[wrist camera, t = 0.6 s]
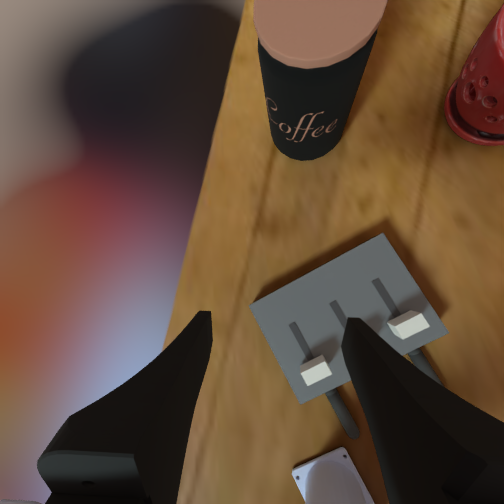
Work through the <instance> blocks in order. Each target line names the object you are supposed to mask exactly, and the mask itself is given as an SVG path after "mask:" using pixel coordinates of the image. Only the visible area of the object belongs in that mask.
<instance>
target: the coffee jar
mask: <svg viewBox="0 0 504 504" xmlns="http://www.w3.org/2000/svg"><path fill="white" fill-rule="evenodd" d="M387 2H388V0H254V25H255V29H256V31H257V34H258V53H259V60H260V66H261V72H262V79H263V85H264V92H265V98H266V104H267V111H268V117H269V123H270V130H271V135H272V138H273V141H274V144H275V145H276V146H277V148H278V149H279V150H280V152H282V153H283V154H285V155H286V156H288V157H290V158H292V159H296V160H300V161H304V160H314V159H316V158H319V157H322V156H324V155H325V154H327V153H328V152H329V151H331V150H332V149H333V148H334V147H335V146H336V144H337V143H338V142H339V140H340V139H341V136H342V133H343V130H344V127H345V124H346V121H347V118H348V116H349V113H350V110H351V107H352V104H353V101H354V98H355V95H356V92H357V90H358V87H359V84H360V81H361V78H362V75H363V72H364V69H365V66H366V64H367V61H368V58H369V55H370V52H371V49H372V46H373V43H374V40H375V37H376V34H377V28H378V26H379V24H380V22H381V19H382V17H383V14H384V11H385V8H386V5H387Z"/></svg>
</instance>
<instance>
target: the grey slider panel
mask: <svg viewBox="0 0 504 504" xmlns="http://www.w3.org/2000/svg"><path fill="white" fill-rule="evenodd" d="M249 307H250V309H251V311H252V313H253V315H254V317H255V319H256V320H257V322H258V324H259V326H260V328H261V330H262V332H263V334H264V336H265V338H266V340H267V342H268V343H269V345H270V347H271V349H272V351H273V353H274V355H275V357H276V359H277V361H278V363H279V365H280V366H281V368H282V370H283V372H284V374H285V376H286V378H287V380H288V382H289V384H290V386H291V388H292V389H293V391H294V393H295V395H296V397H297V399H298V401H299V403H300V405H301V404H303V403H305V402H307V401H309V400H311V399H313V398H315V397H317V396H319V395H321V394H324V393H326V392H328V391H330V390H332V389H334V388H336V387H338V386H340V385H342V384H344V383H346V382H348V381H350V380H351V378H350V375H349V373H348V370H347V367H346V364H345V361H344V357H343V353H342V349H341V344H342V339H343V335H344V331H345V327H346V323H347V319H348V317H356V318H361V319H362V320H363V321H364V322H365V323H366V324H367V325H368V326H370V327H371V328H372V329H373V330H374V331H375V332H376V333H377V334H378V335H379V336H380V337H381V338H383V339H384V340H385V341H386V342H387V343H388V344H389V345H390V346H391V347H393V348H394V349H395V350H396V351H397V352H398V353H400V354H401V355H404V354H407V353H409V352H411V351H413V350H415V349H417V348H419V347H421V346H423V345H425V344H427V343H429V342H431V341H434V340H436V339H438V338H440V337H442V336H444V335H446V334H448V333H449V332H448V330H447V329H446V327H445V326H444V324H443V323H442V321H441V320H440V318H439V317H438V315H437V314H436V312H435V311H434V309H433V308H432V306H431V305H430V303H429V302H428V300H427V299H426V297H425V296H424V294H423V293H422V291H421V290H420V288H419V287H418V285H417V284H416V282H415V280H414V279H413V277H412V276H411V274H410V273H409V271H408V270H407V268H406V267H405V265H404V264H403V262H402V261H401V259H400V258H399V256H398V255H397V253H396V252H395V250H394V249H393V247H392V246H391V244H390V243H389V241H388V240H387V238H386V237H385V235H384V234H383V233H381V234H379V235H377V236H375V237H373V238H371V239H369V240H367V241H366V242H364V243H362V244H360V245H358V246H356V247H355V248H353V249H351V250H349V251H347V252H345V253H344V254H342V255H340V256H338V257H336V258H334V259H333V260H331V261H329V262H327V263H325V264H323V265H322V266H320V267H318V268H316V269H314V270H312V271H310V272H309V273H307V274H305V275H303V276H301V277H299V278H298V279H296V280H294V281H292V282H290V283H288V284H287V285H285V286H283V287H281V288H279V289H277V290H276V291H274V292H272V293H270V294H268V295H266V296H265V297H263V298H261V299H259V300H257V301H255V302H254V303H252V304H250V305H249ZM410 310H412V311H416V312H419V313H422V315H423V317H424V318H425V320H426V321H427V323H428V324H429V326H430V327H428V328H426V329H424V330H422V331H420V332H418V333H415V334H413V335H411V336H409V337H407V338H405V339H401V338H399V337H398V336H396V335H394V333H393V332H392V330H391V329H390V327H389V325H388V324H387V322H388V321H390V320H392V319H394V318H396V317H398V316H400V315H402V314H404V313H406V312H408V311H410ZM322 354H323V356H324V358H325V360H326V362H327V363H328V365H329V367H330V370H331V372H332V375H330V376H328V377H325V378H323V379H321V380H319V381H317V382H315V383H313V384H311V385H309V386H307V384H306V382H305V380H304V379H303V377H302V375H301V371H300V365H302V364H304V363H306V362H308V361H310V360H312V359H314V358H316V357H318V356H320V355H322Z"/></svg>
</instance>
